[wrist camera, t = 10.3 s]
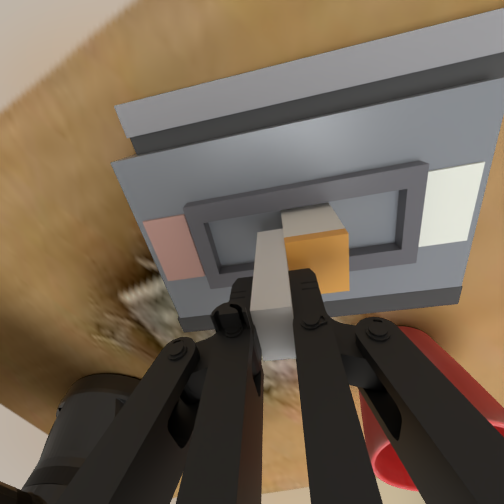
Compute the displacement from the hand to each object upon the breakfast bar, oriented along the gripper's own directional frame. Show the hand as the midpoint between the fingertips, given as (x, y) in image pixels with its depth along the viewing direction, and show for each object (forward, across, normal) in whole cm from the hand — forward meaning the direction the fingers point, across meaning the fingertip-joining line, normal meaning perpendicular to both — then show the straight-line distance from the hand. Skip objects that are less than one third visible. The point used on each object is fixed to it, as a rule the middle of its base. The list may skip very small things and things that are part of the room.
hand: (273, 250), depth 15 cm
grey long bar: (+6, +4, +8) cm, 11 cm away
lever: (+2, +2, 0) cm, 3 cm away
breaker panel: (+6, +2, 0) cm, 6 cm away
